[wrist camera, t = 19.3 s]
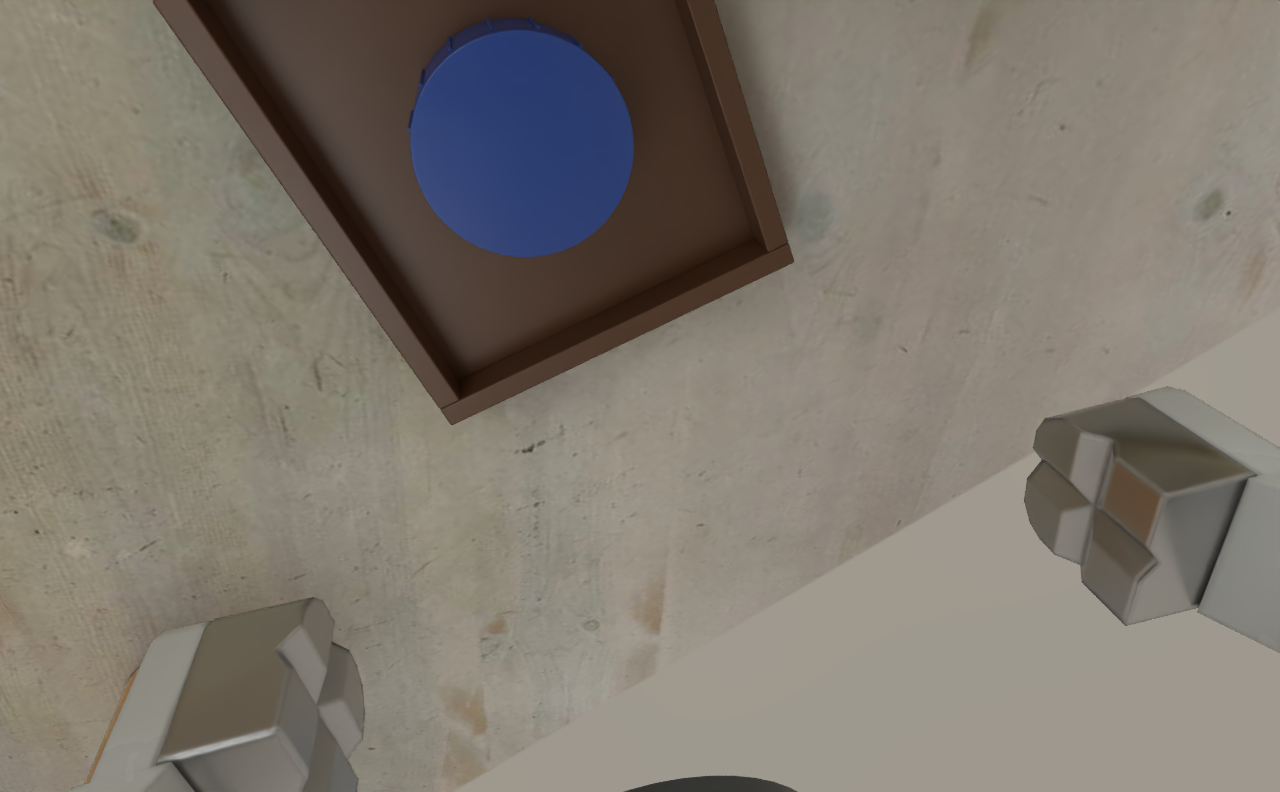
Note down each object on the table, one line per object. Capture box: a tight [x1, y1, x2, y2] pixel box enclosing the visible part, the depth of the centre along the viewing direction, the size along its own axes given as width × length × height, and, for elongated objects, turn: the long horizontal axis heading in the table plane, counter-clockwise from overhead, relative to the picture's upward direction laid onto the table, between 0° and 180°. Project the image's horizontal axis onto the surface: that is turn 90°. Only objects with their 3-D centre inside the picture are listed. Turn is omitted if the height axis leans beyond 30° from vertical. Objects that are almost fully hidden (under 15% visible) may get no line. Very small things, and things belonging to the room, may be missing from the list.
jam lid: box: [408, 17, 634, 257], centre depth 22 cm, size 6×6×3 cm
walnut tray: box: [153, 0, 794, 425], centre depth 24 cm, size 16×14×2 cm
